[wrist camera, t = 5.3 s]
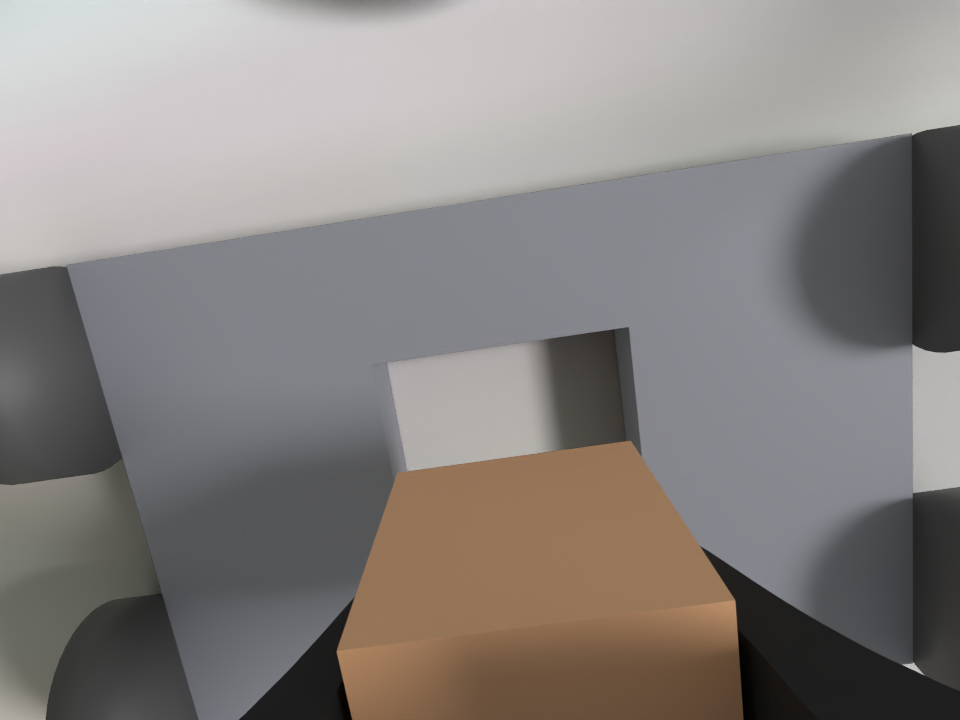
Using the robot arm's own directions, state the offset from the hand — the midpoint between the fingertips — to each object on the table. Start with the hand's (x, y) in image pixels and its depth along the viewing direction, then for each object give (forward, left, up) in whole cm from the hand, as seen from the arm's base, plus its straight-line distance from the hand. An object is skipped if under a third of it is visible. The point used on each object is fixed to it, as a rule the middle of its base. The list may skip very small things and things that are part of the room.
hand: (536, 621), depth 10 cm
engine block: (0, 0, -2) cm, 2 cm away
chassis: (0, 0, -8) cm, 8 cm away
